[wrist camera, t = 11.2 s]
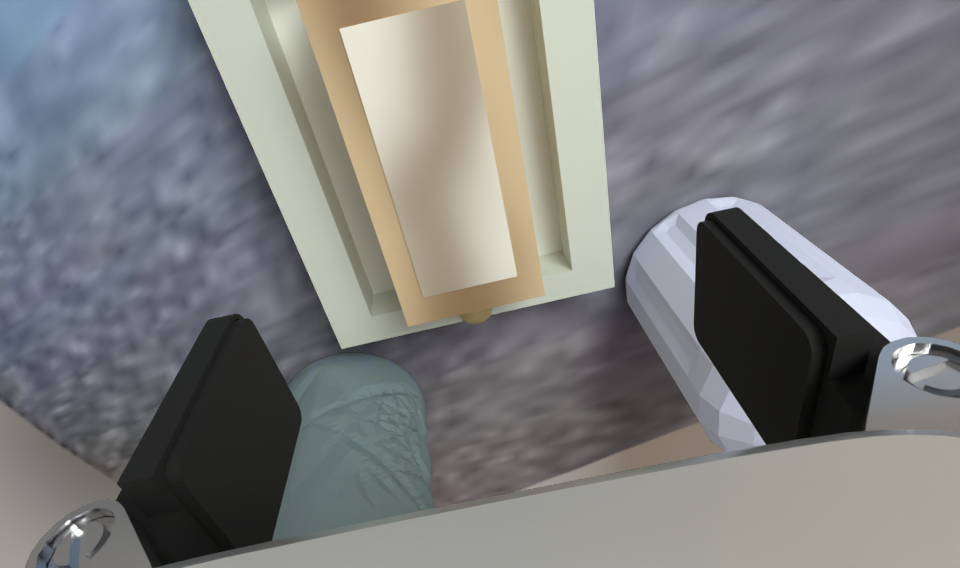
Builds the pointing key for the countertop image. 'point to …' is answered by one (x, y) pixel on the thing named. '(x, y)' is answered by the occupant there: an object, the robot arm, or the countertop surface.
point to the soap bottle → (670, 309)
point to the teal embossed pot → (355, 446)
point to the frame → (432, 147)
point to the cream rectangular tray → (333, 182)
